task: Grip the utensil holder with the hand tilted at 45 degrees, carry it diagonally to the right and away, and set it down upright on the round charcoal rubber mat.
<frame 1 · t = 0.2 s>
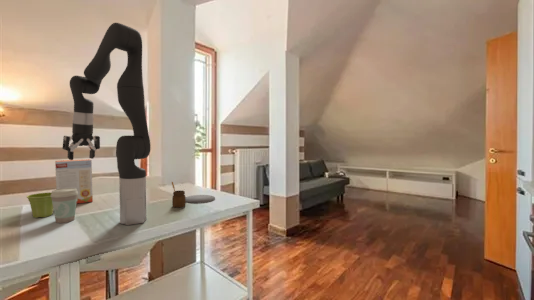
hand: (81, 158, 119), 22 cm above the table, tool pointing down, fingers open, 8 cm apart
coffee cup: (65, 221, 103), on the table
cracker box: (74, 203, 129), on the table
utensil holder: (178, 206, 126), on the table
plant pot: (42, 216, 108), on the table
charcoal mat: (199, 199, 140), on the table
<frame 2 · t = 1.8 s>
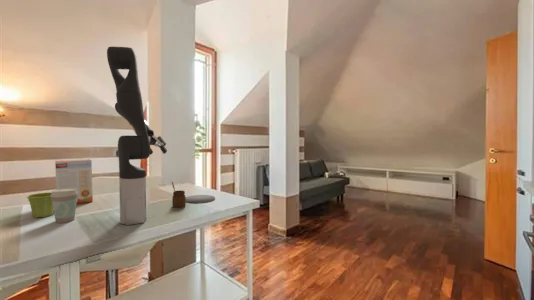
hand: (158, 153, 130), 25 cm above the table, tool tilted 45°, fingers open, 8 cm apart
nothing on the table moved.
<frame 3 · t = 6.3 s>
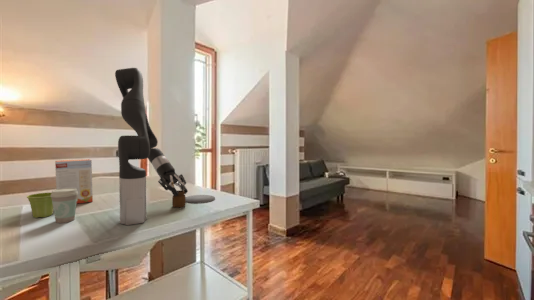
hand: (181, 193, 125), 6 cm above the table, tool tilted 45°, fingers closed on utensil holder, 5 cm apart
utensil holder: (178, 206, 126), on the table, touching gripper
everything else where it was.
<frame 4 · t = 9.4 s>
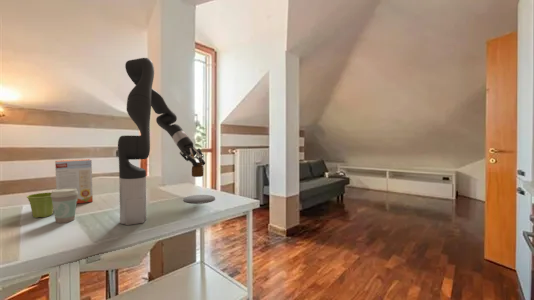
hand: (200, 165, 138), 18 cm above the table, tool tilted 45°, fingers closed on utensil holder, 5 cm apart
utensil holder: (197, 176, 139), point 12 cm above the table, touching gripper
everything else where it was.
when the fingers open (8 cm above the table, at t = 12.5 s): utensil holder drops 1 cm, resting on charcoal mat.
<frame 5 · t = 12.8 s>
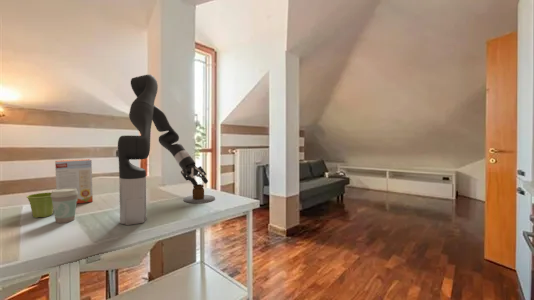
hand: (201, 183, 139), 8 cm above the table, tool tilted 45°, fingers open, 8 cm apart
utensil holder: (198, 198, 139), resting on charcoal mat
everything else where it was.
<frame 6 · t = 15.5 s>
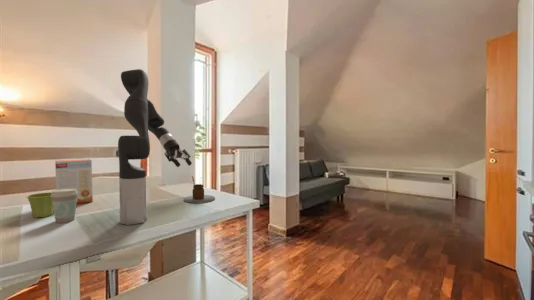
hand: (184, 165, 143), 17 cm above the table, tool tilted 45°, fingers open, 8 cm apart
nothing on the table moved.
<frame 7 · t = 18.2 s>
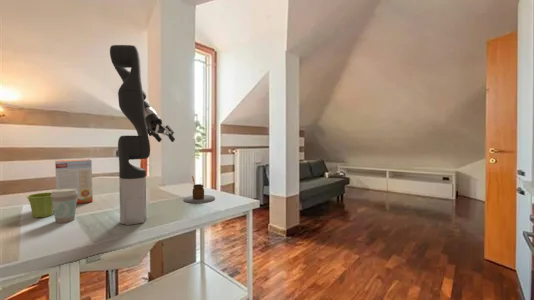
hand: (167, 140, 133), 31 cm above the table, tool tilted 45°, fingers open, 8 cm apart
nothing on the table moved.
at the end: utensil holder 0.8 cm from the charcoal mat (horizontally); utensil holder tilted 0°; utensil holder touching charcoal mat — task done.
